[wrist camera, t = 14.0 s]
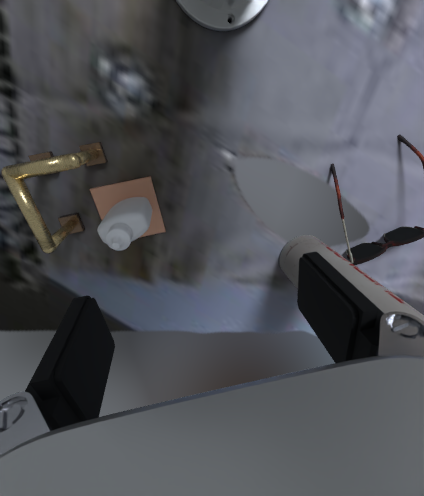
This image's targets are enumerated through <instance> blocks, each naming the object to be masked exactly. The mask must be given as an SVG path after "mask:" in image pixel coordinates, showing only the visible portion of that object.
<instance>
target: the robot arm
mask: <svg viewBox="0 0 424 496" xmlns="http://www.w3.org/2000/svg"><path fill="white" fill-rule="evenodd" d="M175 1H176V2H177V3H178V5H179V6H180V7H181V9H182V10H183V11H184V12H185V13H186V14H187V15H188V16H189V17H190V18H191V19H192V20H193V21H195V22H197V23H198V24H200V25H201V26H203V27H206V28H208V29H211V30H216V31H230V30H235V29H237V28H240V27H243V26H244V25H246V24H247V23H249V22H250V21H252V20H253V19H254V18H255V17H256V16H257V15H258V14H259V13H260V12H261V11H262V9H263V8H264V7H265V5H266V4H267V3H268V1H269V0H175ZM228 19H230V20H231V24H230V23H229V22H228ZM297 302H298V307H299V310H300V311H301V313H302V314H303V316H304V317H305V319H306V320H307V322H308V323H309V324H310V326H311V327H312V329H313V330H314V332H315V333H316V335H317V336H318V338H319V339H320V341H321V342H322V344H323V345H324V346H325V348H326V350H327V351H328V353H329V354H330V356H331V357H332V359H333V360H334V362H335V364H330V365H325V366H320V367H316V368H311V369H307V370H302V371H297V372H293V373H288V374H284V375H280V376H275V377H270V378H266V379H262V380H257V381H253V382H248V383H244V384H239V385H235V386H231V387H226V388H222V389H217V390H213V391H209V392H205V393H200V394H196V395H192V396H187V397H182V398H178V399H174V400H170V401H165V402H161V403H157V404H152V405H148V406H144V407H140V408H135V409H131V410H127V411H123V412H118V413H115V414H110V415H106V416H102V417H99V413H100V408H101V404H102V400H103V395H104V391H105V387H106V383H107V379H108V374H109V370H110V366H111V361H112V357H113V353H114V348H115V344H114V340H113V338H112V336H111V333H110V331H109V329H108V326H107V324H106V322H105V320H104V317H103V315H102V313H101V311H100V309H99V306H98V304H97V302H96V300H95V299H94V298H91V297H90V296H83V297H78V298H74V299H73V301H72V303H71V305H70V307H69V308H68V310H67V312H66V314H65V316H64V318H63V320H62V322H61V324H60V326H59V328H58V330H57V331H56V333H55V335H54V337H53V339H52V341H51V343H50V345H49V347H48V348H47V350H46V352H45V354H44V356H43V358H42V360H41V362H40V364H39V366H38V367H37V369H36V371H35V373H34V375H33V377H32V379H31V381H30V383H29V385H28V387H27V389H26V390H25V392H18V393H15V394H12V395H10V396H8V397H6V398H4V399H3V400H1V401H0V496H424V321H423V320H421V319H420V318H418V317H416V316H414V315H411V314H408V313H405V312H398V311H394V312H388V313H385V314H384V313H383V312H382V311H381V310H380V309H379V308H378V307H377V306H376V305H375V304H374V303H372V302H371V301H370V300H369V299H368V298H367V297H366V296H365V295H364V294H363V293H362V292H360V291H359V290H358V289H357V288H356V287H355V286H354V285H353V284H352V283H351V282H350V281H348V280H347V279H346V278H345V277H344V276H343V275H342V274H341V273H340V272H339V271H338V270H336V269H335V268H334V267H333V266H332V265H331V264H330V263H329V262H328V261H327V260H326V259H324V258H323V257H322V256H321V255H320V254H319V253H318V252H310V253H305V254H303V256H302V257H300V259H299V275H298V301H297Z"/></svg>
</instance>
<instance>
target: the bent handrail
mask: <svg viewBox="0 0 424 496" xmlns="http://www.w3.org/2000/svg"><path fill="white" fill-rule="evenodd" d="M79 147H80V149H81V152H79V153H75V154H74V153H71V154H66V155H60V156H55V157H54V156H53V154H52V151H51V152H46V153H41V154H36V155H31V156H29V158H30V160H31V161H30V162H25V163H20V164H15V165H10V166H6V167H4V168H3V169H2V171H1V173H2V176H3V178H4V180H5V182H6V183H7V185H8V187H9V189H10V191H11V193H12V195H13V197H14V198H15V200H16V202H17V204H18V206H19V208H20V210H21V212H22V213H23V215H24V217H25V219H26V221H27V223H28V225H29V226H30V228H31V230H32V232H33V234H34V236H35V238H36V240H37V241H38V243H39V245H40V247H41V249H42V251H43V252H45V253H52V252H54V251H55V250H56V247H57V246H58V245H59V244H60V243H61V242H62V241H63V240H64V239H65V238H66V237H67V236H68V235H69V234H72V233H77V232H81V231H84V230H85V228H84V225H83V223H82V221H81V218H80V216H79V214H78V213H75V214H71V215H66V216H61V217H59V218H58V220H59V222H60V224H61V226H62V227H61V228H60V229H59V230H58V231H57V232H56V233H54V234H53V235H52V236H51V234H50V232H49V230H48V228H47V226H46V224H45V222H44V220H43V218H42V216H41V214H40V212H39V210H38V208H37V206H36V204H35V202H34V200H33V198H32V196H31V194H30V192H29V190H28V188H27V186H26V184H25V182H24V180H23V179H26V178H31V177H36V176H42V175H47V174H52V173H57V172H61V171H66V170H70V169H75V168H79V167H80V166H81V165H83V164H85V163H86V165H87V166H91V165H96V164H101V163H106V162H107V159H106V156H105V153H104V150H103V147H102V144H101V142H97V143H92V144H87V145H82V146H79Z"/></svg>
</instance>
